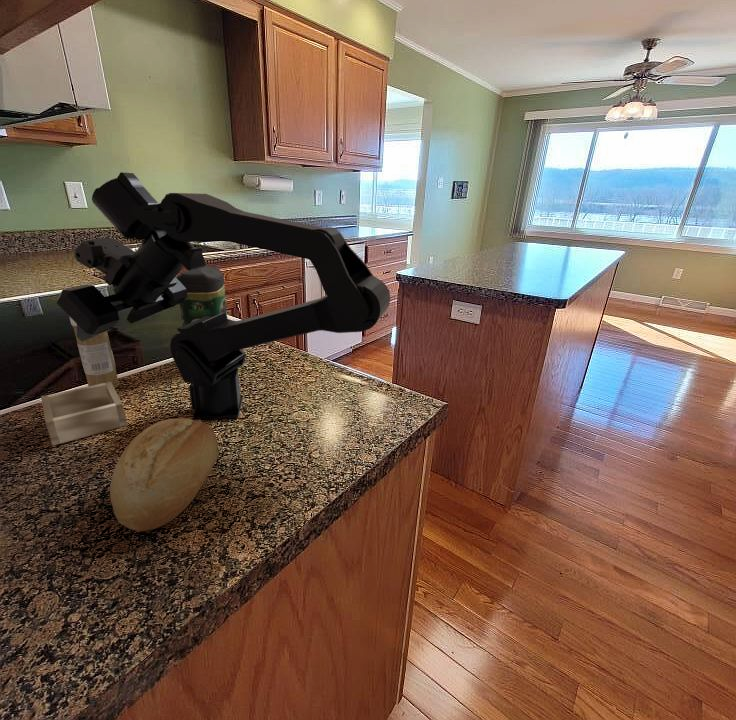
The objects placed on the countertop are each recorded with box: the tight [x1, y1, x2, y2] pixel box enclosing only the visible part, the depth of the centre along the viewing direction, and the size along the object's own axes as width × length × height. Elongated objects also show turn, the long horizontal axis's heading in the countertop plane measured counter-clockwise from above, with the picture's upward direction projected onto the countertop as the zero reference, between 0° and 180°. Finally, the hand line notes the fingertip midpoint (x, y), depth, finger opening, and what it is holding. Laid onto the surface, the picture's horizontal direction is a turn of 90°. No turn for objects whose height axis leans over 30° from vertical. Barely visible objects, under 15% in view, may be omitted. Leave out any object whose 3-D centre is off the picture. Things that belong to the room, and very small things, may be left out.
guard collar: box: [40, 382, 128, 446], centre depth 57 cm, size 9×9×4 cm
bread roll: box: [109, 418, 220, 533], centre depth 44 cm, size 10×15×8 cm, turn 2°
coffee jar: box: [176, 265, 229, 326], centre depth 76 cm, size 10×8×19 cm
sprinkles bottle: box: [68, 315, 121, 390], centre depth 64 cm, size 5×5×14 cm
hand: (106, 329), depth 62 cm, fingers open, 9 cm apart
